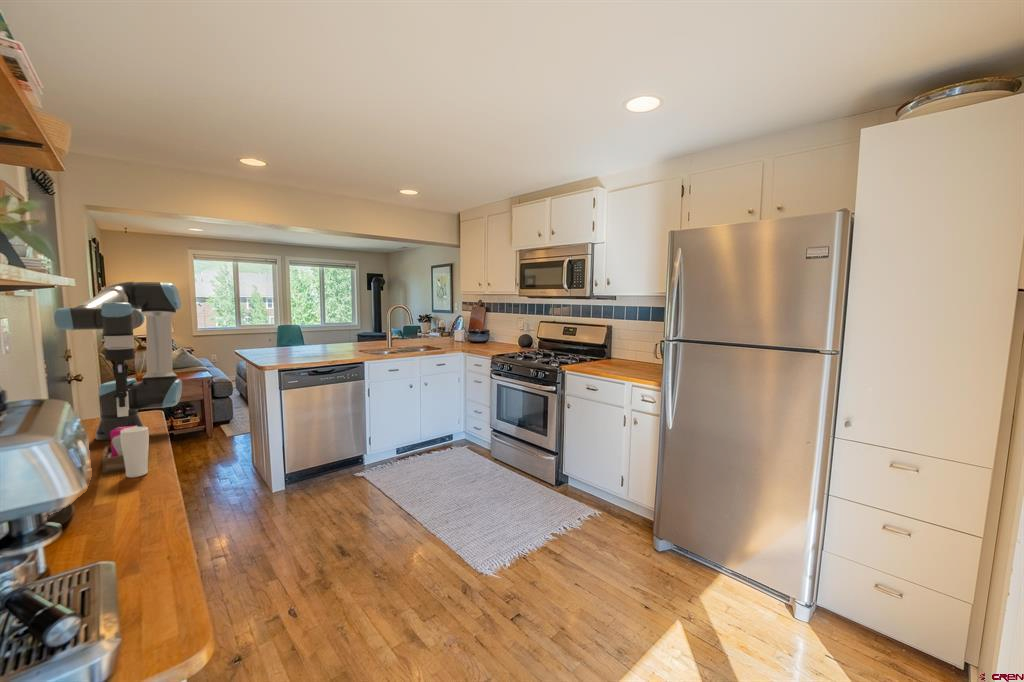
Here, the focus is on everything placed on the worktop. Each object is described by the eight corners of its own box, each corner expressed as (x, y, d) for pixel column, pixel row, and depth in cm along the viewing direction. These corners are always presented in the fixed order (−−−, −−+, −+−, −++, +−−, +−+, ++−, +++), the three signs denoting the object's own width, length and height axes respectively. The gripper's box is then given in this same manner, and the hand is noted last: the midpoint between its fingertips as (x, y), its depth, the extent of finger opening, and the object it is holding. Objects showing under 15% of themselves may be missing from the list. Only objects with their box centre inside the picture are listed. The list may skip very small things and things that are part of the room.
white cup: (122, 481, 133) (119, 433, 132) (123, 474, 138) (120, 428, 137) (150, 475, 137) (148, 429, 136) (151, 469, 142) (148, 425, 141)
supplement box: (140, 456, 151) (138, 424, 151) (133, 462, 146) (131, 429, 145) (119, 458, 149) (117, 426, 148) (111, 464, 144) (109, 431, 143)
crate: (106, 460, 150) (105, 446, 150) (147, 453, 157) (146, 440, 157) (103, 474, 138) (102, 459, 137) (147, 466, 145) (147, 451, 145)
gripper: (106, 346, 150) (110, 408, 152) (101, 351, 134) (106, 421, 135) (134, 345, 155) (138, 405, 157) (133, 350, 138) (137, 418, 140)
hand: (123, 413), depth 146 cm, fingers open, 10 cm apart
